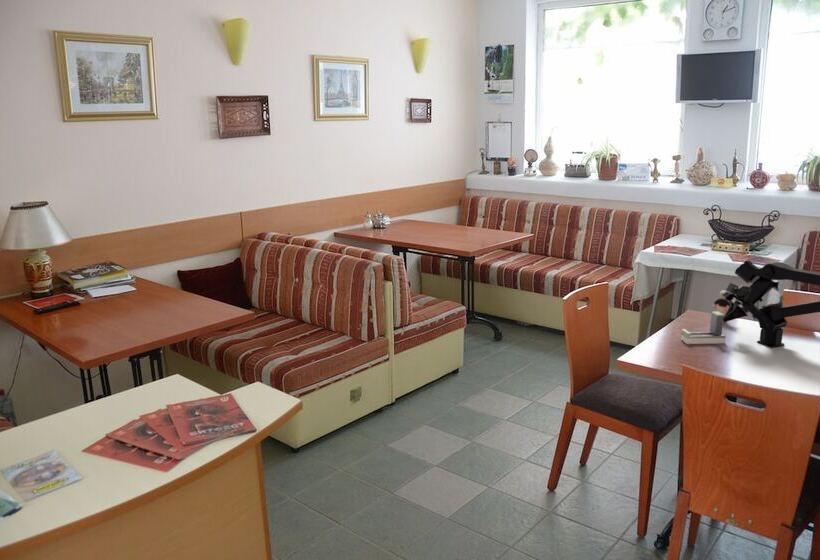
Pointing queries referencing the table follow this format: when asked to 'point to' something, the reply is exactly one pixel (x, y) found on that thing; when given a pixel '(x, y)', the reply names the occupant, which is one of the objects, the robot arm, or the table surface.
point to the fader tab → (716, 323)
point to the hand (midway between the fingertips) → (723, 321)
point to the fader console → (701, 337)
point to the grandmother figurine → (721, 304)
